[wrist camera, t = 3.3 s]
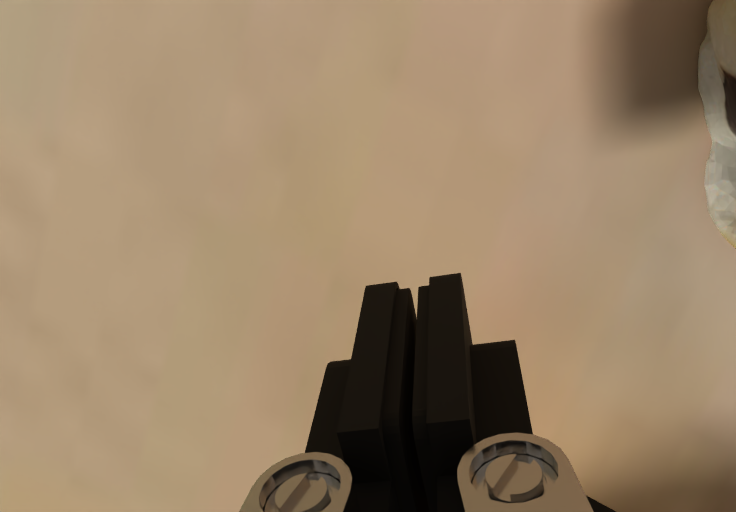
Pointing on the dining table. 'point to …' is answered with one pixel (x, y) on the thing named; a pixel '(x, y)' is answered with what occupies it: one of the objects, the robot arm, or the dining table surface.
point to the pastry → (720, 113)
